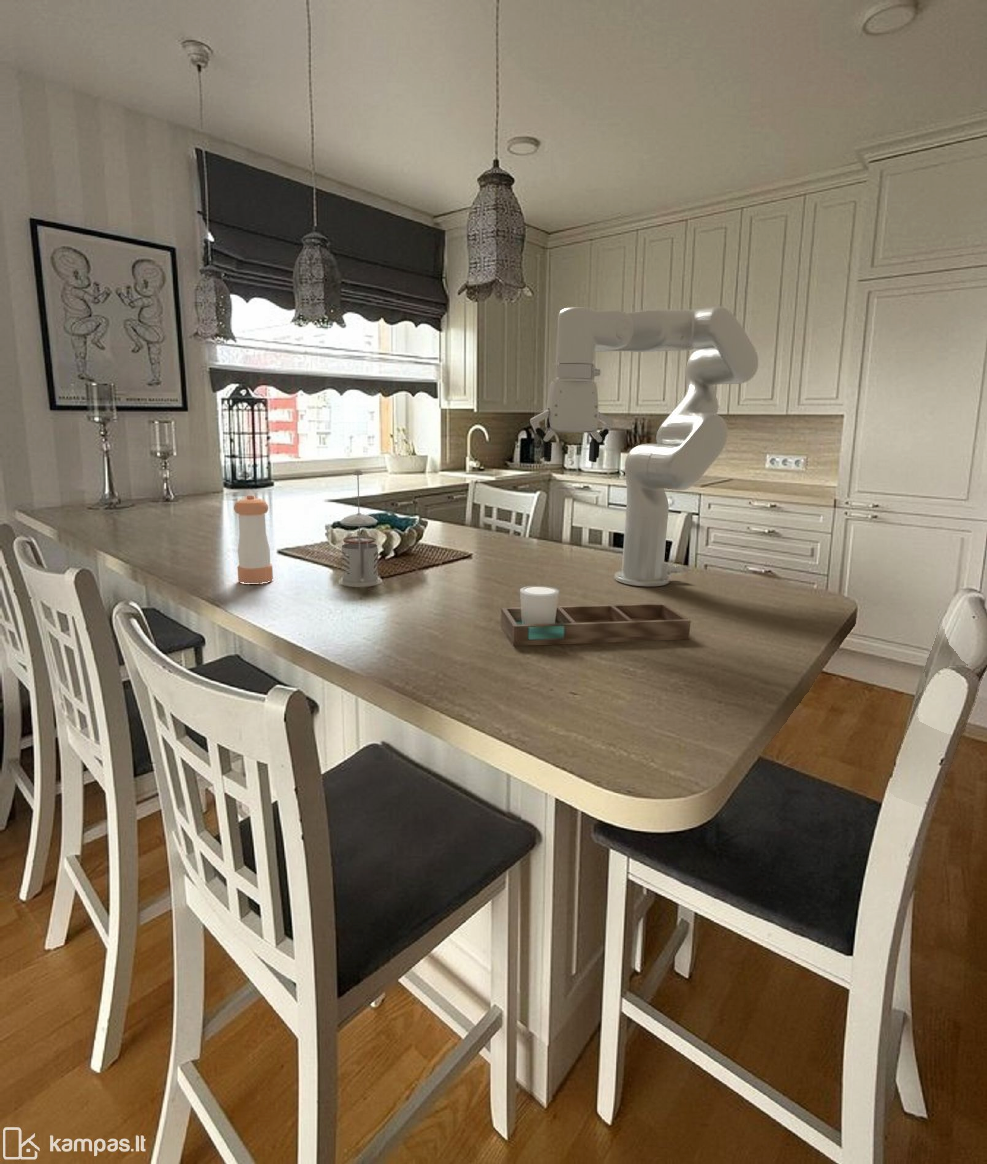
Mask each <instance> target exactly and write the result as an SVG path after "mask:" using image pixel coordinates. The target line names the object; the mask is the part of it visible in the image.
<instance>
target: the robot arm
mask: <svg viewBox="0 0 987 1164" xmlns="http://www.w3.org/2000/svg"><path fill="white" fill-rule="evenodd" d="M556 331H557V334H556V335H557V336H556V358H555V379H554V380H552V381H551V382H550V385H549V390H548V395H547V402H546V410H545V411H543V412H541V413H539V414H537V415H535V416H533V417H532V418H530V419H529V422H530V425H531V427H532V429H533V432H534V434H535V435H536V436H538V438H539V439H540V441H542V444H541V447H542V448H541V457H542V458H543V461H544V462H546V463H550V462H552V454H553V453H552V452H553V450H552V449H553V446H552V445H553V442H552V441H551V439H552V437H553V436H554V435H555V434H556V433H576V434H577V433H579V434H581V433H583V434H584V433H585V434H587V435H588V436H589V438H590V439H591V441H590V442H589V447H588V449H589V450H588V462H591V463H597V461H598V459H599V457H600V446H601V445H600V444H601V443H602V441H603V440H604V438H605V437H607V435H608V434H609V433H610V431H611V429H612V427H613V425H614V420H613V419H611V418H609V416H606V415H605V414H603V413H601V412H600V411H599V397H598V386H597V382H596V381H594V380H595V378H596V377H600V376H601V369H597V368H596V365H595V354H596V353H601V352H602V353H603V352H604V353H606V352H607V353H608V352H631V353H647V352H673V351H674V352H678V351H694V352H692V353H691V355H690V356H689V358H688V360H687V363H686V367H685V368H686V369H685V375H686V377H685V378H686V390H685V391H686V393H685V395H684V397H683V399H682V400H681V401H680V403H678V405H677V406H676V407H675V408H674V409H673V410H672V412H671V413H670V414H669V415H668V416H667V418H665V420H664V421H663V422H662V424H660V426H659V428H658V430H657V432H656V437H655V438H656V439H655V440H656V443H644V444H643V443H642V444H639V445H637V446H635V447H633V448H631V450H630V451H629V452H628V453H627V454H626V456H625V457H626V458H625V461H624V473H625V474H624V476H625V482H626V508H625V518H624V519H625V521H624V522H625V523H624V534H623V546H622V547H623V550H622V559H621V560H622V562H621V563H622V564H621V570H619V571H616V572H615V573H614V579H615V580H616V581H617V582H618V583H621V584H624V585H630V586H636V587H637V586H638V587H662V586H666V585H667V584H669V583H670V577H669V575H671V574H683V572H684V566H683V565H682V564H679V565H678V564H676V565H675V564H673V563H668V562H666V561H665V553H666V542H667V532H668V520H669V512H670V511H669V510H670V509H669V505H670V504H669V500H668V496H667V494H666V491H665V490H672V491H685V490H688V489H690V488H692V487H693V486H695V484H696V483H698V481H699V480H700V479H701V478H702V477H703V476H704V474H705V473H706V472H707V470H708V469H709V468H710V467H711V466H712V464H714V462H715V461H716V460H717V459H718V457H719V456H720V454H722V452H723V450H724V448H725V445H727V441H728V440H727V439H728V432H729V431H728V426H727V423H726V421H725V419H724V418H723V417H721V416H720V415H718V411H719V402H718V398H717V396H716V392H715V385H741V384H744V383H747V382H749V381H751V380H752V379H753V378H754V377H755V375H756V373H757V372H758V368H759V357H758V353H757V350H756V348H755V346H754V343H752V341H751V340H750V338H749V336H748V333H746V331H745V329H744V327H743V326H742V324H741V323H740V321H739V320H738V319H737V317H736V316H735V315H734V314H733V313H732V312H731V310H729V309H728V308H726V307H724V306H718V305H717V306H711V307H705V308H695V309H663V308H662V309H661V308H660V309H659V308H655V309H644V310H638V311H632V312H628V313H627V312H625V311H622V310H619V309H608V310H603V309H601V310H600V309H598V310H597V309H596V310H595V309H592V308H590V307H582V306H570V307H566V308H563V309H561V310H560V311H559V313H558V315H557V330H556ZM542 421H545V429H546V430H545V431H544V430H543V429H542V428H541V425H540V422H542ZM599 422H602V423H603V427H602V428H601V429H600V431H598V426H599Z"/></svg>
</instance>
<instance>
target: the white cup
mask: <svg viewBox="0 0 987 1164" xmlns="http://www.w3.org/2000/svg"><path fill="white" fill-rule="evenodd" d="M559 596H560V590H559V589H557V588H555V587H551V586H546V585H545V586H543V585H529V586H524V587H522V588H520V589H519V597H520V607H521V618H522V625H527V624H555V618H556V611H557V606H558V603H559V598H560V597H559Z"/></svg>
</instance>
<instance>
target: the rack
mask: <svg viewBox="0 0 987 1164" xmlns="http://www.w3.org/2000/svg"><path fill="white" fill-rule="evenodd" d="M500 611H501V612H500V627H501V628H502V630H503V631H504V633H505V635H506V637H507V636H508V637H507V638H508V640H509V641H510V643H511V645H512V644H513V645H512V646H513V647H519V646H546V645H570V644H573V645H574V644H599V643H620V642H621V643H625V642H628V643H629V642H643V641H644V642H645V641H647V642H650V641H651V642H652V641H669V640H670V641H675V640H689V639H690V631H691V619H689V618H687V617H686V616H684V615H683V614H681V613H680V612H679V611H676V610H675V609H674V608H672V607H671V606H669V605H667V604H666V603H664V602H658V603H657V602H656V603H629V604H627V603H625V604H624V603H623V604H595V605H594V604H592V605H591V604H588V605H584V604H583V605H557V611H556V618H555V624H527V625H522V618H521V606H519V607H518V606H517V607H515V606H513V607H501V608H500Z"/></svg>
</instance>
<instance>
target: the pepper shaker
mask: <svg viewBox="0 0 987 1164" xmlns="http://www.w3.org/2000/svg"><path fill="white" fill-rule="evenodd" d="M233 510H234V512H235V514H236V515H238V517H237V518H238V529H239V535H238V547H237V554H238V555H237V558H238V565H237V580H238V581H239V582H244V583H262V582H268V581H272V579H273V580H274V573H273V565H272V563H271V550H270V549H271V548H270V545H269V540H268V536H267V529H266V513H268V511H269V505H268V503H267V502H266V501H265V500H263V499H261V498H257V497H255V495H253V494H247V496H246V498H242V499H239V500H237V501H236V502H235V503H234V505H233ZM238 581H237V582H238ZM239 582H238V583H239ZM272 582H273V581H272Z"/></svg>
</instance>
